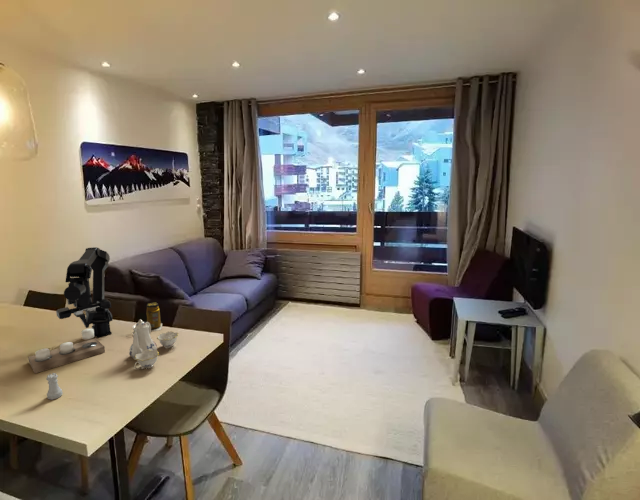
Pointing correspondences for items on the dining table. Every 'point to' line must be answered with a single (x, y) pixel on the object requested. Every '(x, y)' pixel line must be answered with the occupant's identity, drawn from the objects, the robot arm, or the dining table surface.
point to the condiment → (153, 316)
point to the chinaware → (148, 344)
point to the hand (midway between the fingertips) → (87, 327)
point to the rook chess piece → (53, 387)
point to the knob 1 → (42, 354)
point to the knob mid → (66, 347)
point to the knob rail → (67, 355)
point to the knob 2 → (87, 333)
